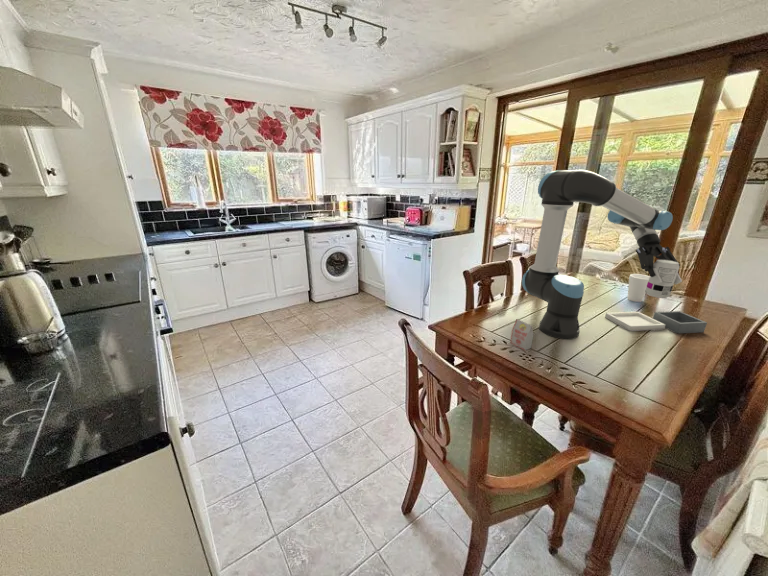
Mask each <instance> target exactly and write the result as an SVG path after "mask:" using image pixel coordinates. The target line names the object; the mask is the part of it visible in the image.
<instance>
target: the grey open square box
mask: <svg viewBox="0 0 768 576" xmlns="http://www.w3.org/2000/svg"><path fill="white" fill-rule="evenodd" d="M652 316H653V317H652V318H653V319H655V320H657V321H659V322H661V323H663V324H665V328H666V329H667V330H669V331H671V332H673V333H676V334H694V333H698V334H699V333H705V329H706V327H707V325H708V322H707V321H704V320H701V319H700V318H697V317H695V316H692V315H690V314H687V313H685V312H682V311H680V310H671V311H670V310H669V311H655V312H654V314H653V315H652ZM665 328H664V329H665Z"/></svg>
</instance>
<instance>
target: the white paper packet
mask: <svg viewBox="0 0 768 576" xmlns="http://www.w3.org/2000/svg"><path fill="white" fill-rule="evenodd" d="M510 335H511V336H510V342H509V343H510V344H512V345H513V346H516V347H517V348H519V349H522V351H527V350H529V349H532V346H533V345H532V343H533V338H534V331H533V325H531V324H530V323H527V322H524V321H522V320H521V319H517V318H516V320H515V322H514V325H512V329H511V334H510Z"/></svg>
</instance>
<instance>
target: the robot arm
mask: <svg viewBox="0 0 768 576" xmlns="http://www.w3.org/2000/svg"><path fill="white" fill-rule="evenodd" d="M537 186H538V187H537V194H538V195H539V197H540V198H541V206H542V208H543V214H542V219H541V226H540V233H539V236H538V242H537V249H536V251H535V252H536V253H535V254H536V255H535V258H534V263H533V264H532V265H530V266H529V269H527V270H526V272H524V273H523V276H522V279H521V286H522V288H523V290H524V291H525V292H527V293H528V294H529V295H530V296H533V297H535V298H538V299H540V300H542V301H544V302H546V303H547V307H546V312H545V313H544V315H543V316H542V318H541V320H540V321H539V325H538V329H539V330H540V331H541V332H542V333H543V334H545V335H547V336H550V337H553V338H556V339H561V340H573V339H576V338H578V337H579V336H580V331H581V330H580V323H579V319H578V318H579V313H580V309H581V305H582V302H583V301H582V300H583V296H584V290H585V285H584V283H583V281H581V280H580V279H579V278H576V277H574V276H572V275H570V276H569V275H567V274H559V273H560V269H559V268H558V266H557V262H558V257H559V253H560V248H561V243H562V239H563V234H564V229H565V225H566V219H567V214H568V210H569V209H570V208H572V207H573V206H574V202H575V203H585V204H590V205H592V206H595V207H603V208H605V209H607V210H609V211H608V213H607V220H608V222H610V223H613V224H614V225H621V226H625V227H629V228H630V230H631V233H632V234H633V236H634V239H635V241H636V244H637V246H638V248H636V249H635V252H636V254H637V257H638V261H639V263H640V269H641V270H644V272H647V273H648V276H651V277H652V279H653V281H654V283H655V285H657V284H659V283H661V282H662V280H661V278H660V276H659V274H658V272H657V270H656V268H653V264H654V257H655V258H656V260H670V261H675V262H678V260H677V258H676V257H675V256H674V255H673V253H672V252H671V249H670V247H669V246H665V247H663V246H662V245H661V244H660V243H661V239H660V236H659V235H658V233H657V231H656V230H658V231H664V230H666V229H668V228H669V227H670V226H671V225H672V222H673V218H674V217H673V214H672V212H670V211H667V210H659V209H656V208H654V207H652V206H650V205H649V204H647V203H645V202H643V201H642V200H639V199H638V198H636V197H635V196H632V195H630V194H628V193H627V192H625V191H623V190H621V189H619V188H618V187H617V184H616V183H615V182H614V181H612V180H610V179H608V178H606V177H605V176H603V175H600V174H598V173H596V172H594V171H591V170H586V169H569V170H567V169H557V170H553V171H549V172H548V173H546V174H545V175H544V176H543V177H541V180H540V181H539V184H538V185H537ZM678 263H679V262H678ZM679 267H681V264H680V263H679ZM682 282H683V280H682V278H681V276H680V273H679V271H678V273H677V276H676V279H675V282H674V285H678V284H681V283H682Z"/></svg>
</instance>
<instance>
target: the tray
mask: <svg viewBox="0 0 768 576" xmlns="http://www.w3.org/2000/svg"><path fill="white" fill-rule="evenodd" d="M605 317H606V318H605ZM604 318H605V319H608V320H609V321H611V322H613V323H615V324H616V325H618V326H620V327H622V328H623V329H624V330H627V331H629V332H635V331H636V332H637V331H658V330H659V331H660V330H665V324H663V323H661V322H659V321H657V320H655V319H653V317H650V316H649V315H646V314H644V313H642V312H640V311H623V312H622V311H621V312H619V311H618V312H606V313H605V316H604Z"/></svg>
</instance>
